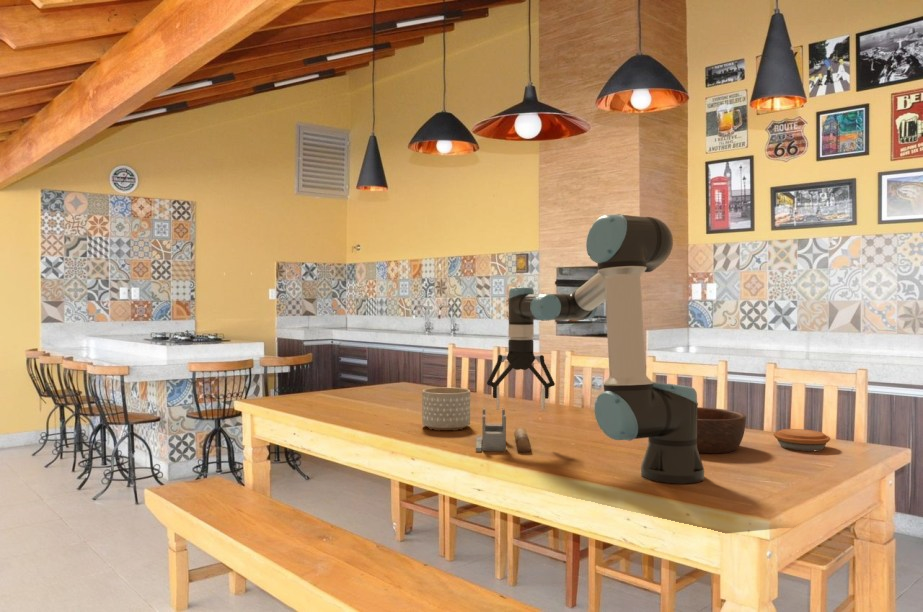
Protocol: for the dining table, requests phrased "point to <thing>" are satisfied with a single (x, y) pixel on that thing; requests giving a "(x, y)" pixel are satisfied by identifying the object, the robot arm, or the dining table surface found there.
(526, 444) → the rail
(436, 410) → the planter
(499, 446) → the bracket
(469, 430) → the dining table surface
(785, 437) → the pie
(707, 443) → the wooden bowl
